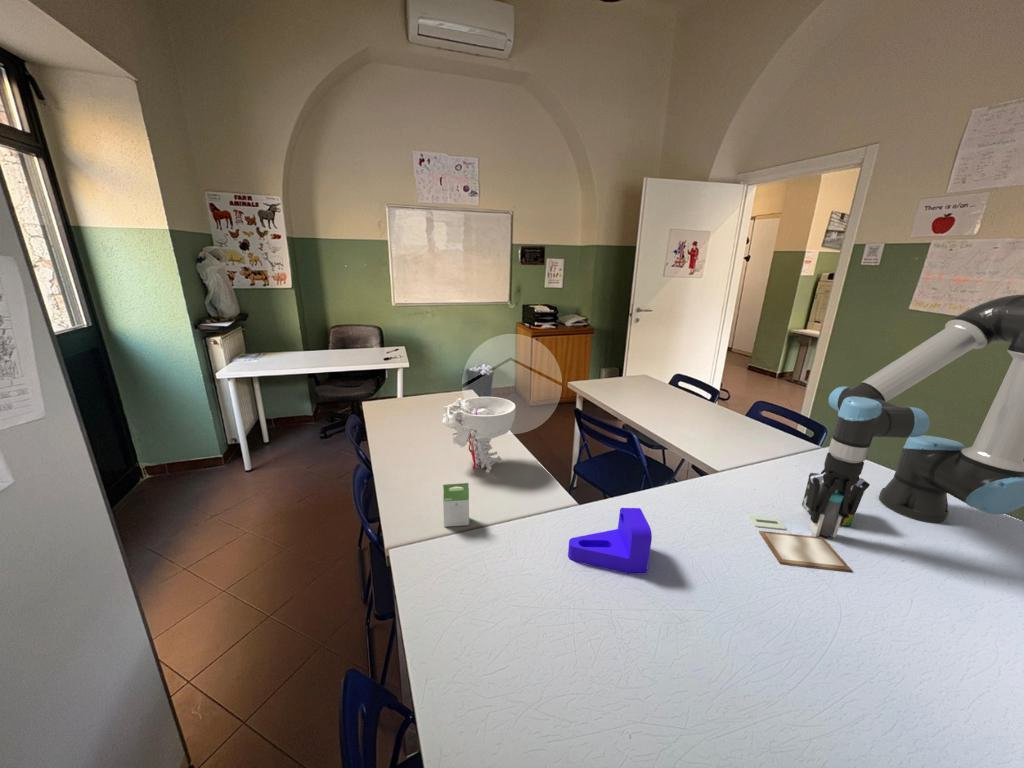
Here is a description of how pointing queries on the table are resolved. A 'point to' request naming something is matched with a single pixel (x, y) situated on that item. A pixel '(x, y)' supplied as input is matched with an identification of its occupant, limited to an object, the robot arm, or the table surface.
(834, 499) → the marker
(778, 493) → the table surface
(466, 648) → the table surface
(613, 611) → the table surface
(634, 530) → the bracket
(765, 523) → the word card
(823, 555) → the brown picture frame
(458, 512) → the ink box
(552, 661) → the table surface
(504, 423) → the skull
